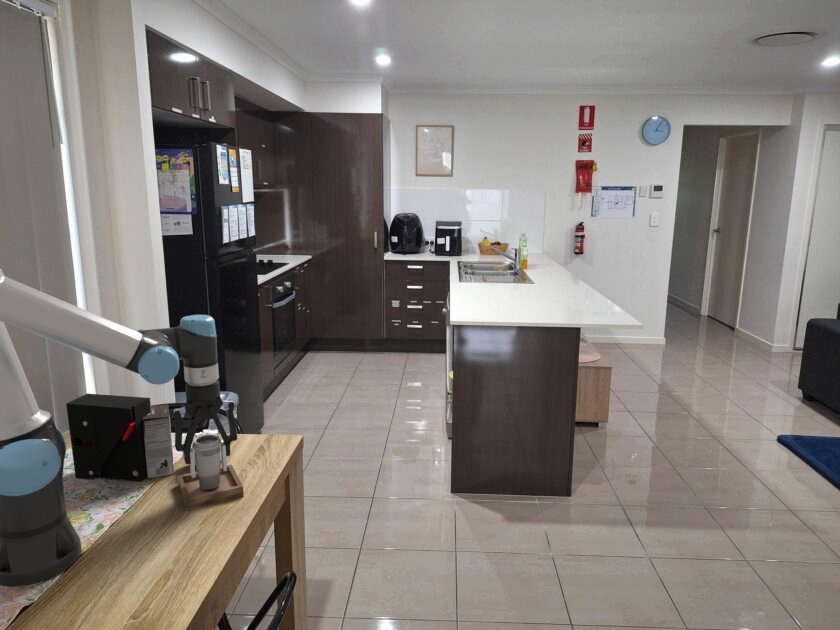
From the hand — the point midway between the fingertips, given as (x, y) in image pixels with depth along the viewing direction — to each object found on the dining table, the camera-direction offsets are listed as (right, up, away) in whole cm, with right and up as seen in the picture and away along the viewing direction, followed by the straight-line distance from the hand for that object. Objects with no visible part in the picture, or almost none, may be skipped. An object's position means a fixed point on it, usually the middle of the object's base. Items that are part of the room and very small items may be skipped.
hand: (208, 471), depth 144 cm
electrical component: (-27, -3, +9) cm, 28 cm away
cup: (0, -4, +1) cm, 4 cm away
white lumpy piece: (-6, -2, +15) cm, 16 cm away
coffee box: (-17, -3, +12) cm, 21 cm away
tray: (0, -5, +1) cm, 5 cm away
